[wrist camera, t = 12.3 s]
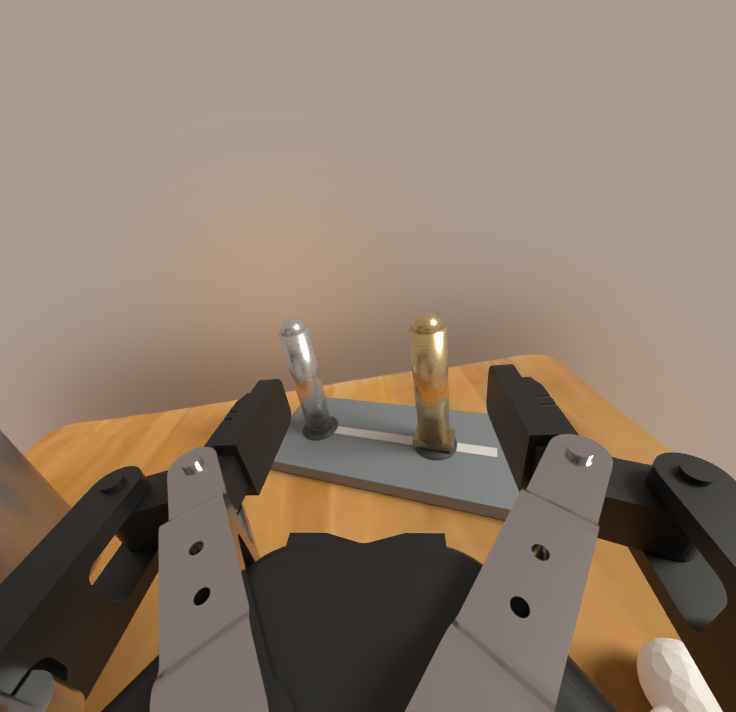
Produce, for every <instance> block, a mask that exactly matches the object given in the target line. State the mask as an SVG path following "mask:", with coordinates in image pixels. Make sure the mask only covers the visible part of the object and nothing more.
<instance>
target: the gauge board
mask: <svg viewBox="0 0 736 712" xmlns="http://www.w3.org/2000/svg"><path fill="white" fill-rule="evenodd" d="M326 401H327V404H328V408H329V412H330V416H331V420H332V424H333V426H332V428H331V430H330V431H329V432H327V433H325V434H323V435H318V436H316V435H312V434H310V433H309V431H308V427H307V424H306V421H305V418H304V414H303V411H302V408H301V407H300V408H299V410H298V411H297V412H296V413H295V414H294V416H293V417H292V418H291V422H290V426H289V428H288V430H287V432H286V435H285V437H284V439H283V442H282V444H281V446H280V448H279V451H278V453H277V455H276V458H275V460H274V462H273V464H272V467H271V469H272V470H277V471H281V472H286V473H291V474H295V475H300V476H304V477H309V478H313V479H318V480H323V481H327V482H332V483H336V484H341V485H345V486H350V487H355V488H359V489H364V490H368V491H373V492H378V493H382V494H387V495H391V496H396V497H400V498H405V499H410V500H414V501H419V502H423V503H428V504H432V505H437V506H442V507H446V508H451V509H455V510H460V511H464V512H469V513H474V514H478V515H483V516H487V517H492V518H496V519H501V520H506V518H507V516H508V514H509V512H510V510H511V508H512V506H513V504H514V502H515V500H516V498H517V496H518V495H519V490H518V488H517V485H516V483H515V480H514V478H513V475H512V473H511V470H510V468H509V465H508V463H507V460H506V458H505V456H504V453H503V451H502V448H501V446H500V443H499V441H498V438H497V436H496V433H495V431H494V428H493V426H492V423H491V421H490V418H489V415H488V414H485V413H475V412H465V411H455V410H449V419H450V428H451V429H455V442H454V448H453V453H450V452H444V451H437V450H431V449H424V448H417V447H413V437H414V434H415V431H416V428H417V413H416V406H406V405H396V404H386V403H376V402H366V401H356V400H347V399H337V398H327V397H326Z"/></svg>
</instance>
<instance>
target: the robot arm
mask: <svg viewBox="0 0 736 712" xmlns="http://www.w3.org/2000/svg"><path fill="white" fill-rule="evenodd" d="M487 411H488V415H489V418H490V421H491V423H492V426H493V428H494V431H495V433H496V436H497V438H498V441H499V443H500V446H501V448H502V451H503V453H504V456H505V458H506V460H507V463H508V465H509V468H510V470H511V473H512V475H513V478H514V480H515V483H516V485H517V488H518V490H519V495H518V496H517V498H516V500H515V502H514V504H513V506H512V508H511V510H510V512H509V514H508V516H507V518H506V520H505V522H504V524H503V526H502V528H501V530H500V532H499V534H498V536H497V538H496V540H495V542H494V544H493V546H492V548H491V550H490V552H489V554H488V556H487V558H486V560H485V562H484V564H483V565H482V564H481V563H480V562H478V561H477V560H475V559H474V558H472V557H470V556H468V555H467V554H465V553H463V552H460V551H458V550H455V549H452V548H449V547H446V540H445V533H404V534H400V535H396V536H393V537H389V538H385V539H381V540H377V541H374V542H370V543H358V542H355V541H352V540H348V539H345V538H341V537H338V536H335V535H331V534H328V533H290V535H289V538H288V541H287V545H286V546H285V547H282V548H279V549H277V550H274V551H272V552H270V553H268V554H267V555H265V556H263V557H262V558H260V556H259V553H258V551H257V547H256V544H255V541H254V538H253V534H252V531H251V528H250V524H249V521H248V518H247V515H246V511H245V508H244V506H243V504H242V502H243V500H244V498H245V496H246V495H259V494H260V492H261V489H262V487H263V485H264V483H265V480H266V478H267V476H268V473H269V471H270V469H271V467H272V464H273V462H274V460H275V458H276V455H277V453H278V451H279V448H280V446H281V444H282V442H283V439H284V437H285V435H286V432H287V430H288V428H289V426H290V422H291V410H290V406H289V403H288V400H287V397H286V394H285V391H284V388H283V384H282V382H281V381H280V380H279V379H271V380H260V381H258V383H257V384H256V385H255V387H254V388H253V390H252V391H251V393H247V394H246V395H245V396H243V397H242V398H241V399H239V400H238V401H237V402H236V403H235V405H234V406H233V407H232V409H231V410H230V413H228V414H227V416H226V417H225V418H224V421H222V422H221V424H220V425H219V426H218V428H217V429H216V431H215V432H214V433H213V435H212V436H211V437H210V439H209V440H208V442H207V443H206V444H205V446H204V447H200V448H196V449H193V450H191V451H189V452H187V453H185V454H183V455H182V456H181V457H179V458H178V459H177V460H176V461H175V462H174V463H173V464H172V465H171V466H170V468H169V470H168V471H164V472H161V473H157V474H153V475H150V476H146V477H145V475H144V474H143V473H142V471H141V470H140V469H139V468H138V467H135V466H129V467H124V468H121V469H118V470H116V471H113V472H112V473H110V474H108V475H106V476H105V477H103V478H102V479H100V480H99V481H98V482H97V483H96V484H94V485H93V486H92V487H91V489H90V490H89V491H88V492H87V493H86V494H85V495H84V496H83V497H82V498H81V499H80V500H79V501H78V502H77V503H76V504H75V505H74V507H73V508H71V507H70V506H69V505H68V503H67V502H66V501H65V500H64V499H63V498H62V497H61V496H60V495H59V494H58V493H57V491H56V490H55V489H54V488H53V487H52V486H51V485H50V484H49V483H48V482H47V481H46V479H45V478H44V477H43V476H42V475H41V474H40V473H39V472H38V471H37V470H36V469H35V467H34V466H33V465H32V464H31V463H30V462H29V461H28V460H27V459H26V458H25V457H24V455H23V454H22V453H21V452H20V451H19V450H18V449H17V448H16V447H15V446H14V445H13V444H12V443H11V441H10V440H9V439H8V438H7V437H6V436H5V435H4V434H3V433H2V432H1V430H0V712H84V711H85V701H86V699H87V697H88V695H89V694H90V692H91V690H92V688H93V686H94V685H95V683H96V681H97V679H98V678H99V676H100V674H101V672H102V670H103V669H104V667H105V665H106V663H107V662H108V660H109V658H110V656H111V654H112V653H113V651H114V649H115V647H116V646H117V644H118V642H119V640H120V638H121V637H122V635H123V633H124V631H125V630H126V628H127V626H128V624H129V622H130V621H131V619H132V617H133V615H134V614H135V612H136V610H137V608H138V607H139V605H140V603H141V601H142V599H143V598H144V596H145V594H146V592H147V591H148V589H149V587H150V585H151V583H152V582H153V580H154V578H155V576H156V575H157V573H158V571H159V655H158V656H157V657H156V658H155V659H154V660H153V661H152V662H151V663H150V664H149V665H148V666H147V667H146V668H145V669H144V670H143V671H142V672H141V673H140V674H139V675H138V676H137V677H136V678H135V679H134V680H133V681H132V682H131V683H130V684H129V685H128V686H127V687H126V688H125V689H124V690H123V691H121V692H120V693H119V694H118V695H117V696H116V697H115V698H114V699H113V700H112V701H111V702H110V703H109V704H108V705H107V706H106V707H105V708H104V709H103V710H102V711H101V712H620V711H619V710H618V709H617V708H616V706H615V705H614V704H613V703H612V702H611V701H610V700H609V699H608V698H607V697H606V696H605V694H604V693H603V692H602V691H601V690H600V689H599V688H598V687H597V686H596V685H595V684H594V682H593V681H592V680H591V679H590V678H589V677H588V676H587V675H586V674H585V673H584V672H583V670H582V669H581V668H580V667H579V666H578V665H577V664H576V663H575V662H574V661H573V660H572V658H571V657H570V656H569V655H568V653H569V649H570V645H571V641H572V637H573V633H574V629H575V625H576V621H577V617H578V613H579V609H580V605H581V601H582V597H583V593H584V589H585V585H586V581H587V576H588V572H589V568H590V564H591V560H592V556H593V552H594V548H595V544H596V540H597V538H600V539H603V540H607V541H610V542H614V543H617V544H621V545H624V546H628V548H629V550H630V552H631V553H632V555H633V557H634V559H635V560H636V562H637V564H638V565H639V567H640V569H641V571H642V572H643V574H644V576H645V578H646V579H647V581H648V583H649V585H650V586H651V588H652V590H653V591H654V593H655V595H656V597H657V598H658V600H659V602H660V604H661V605H662V607H663V609H664V611H665V612H666V614H667V616H668V617H669V619H670V621H671V623H672V624H673V626H674V628H675V630H676V631H677V633H678V635H679V637H680V638H681V640H682V642H683V644H684V645H685V647H686V649H687V650H688V652H689V654H690V656H691V657H692V659H693V661H694V663H695V664H696V666H697V668H698V670H699V671H700V673H701V675H702V676H703V678H704V680H705V682H706V683H707V685H708V687H709V689H710V690H711V692H712V694H713V696H714V697H715V699H716V701H717V702H718V704H719V706H720V708H721V709H722V711H723V712H736V481H735V480H734V479H733V478H732V477H731V476H730V475H729V474H727V473H726V472H725V471H723V470H722V469H720V468H719V467H717V466H715V465H714V464H711V463H710V462H708V461H705V460H703V459H700V458H698V457H694V456H691V455H687V454H682V453H664V454H661V455H659V456H657V457H656V459H655V460H654V462H653V465H647V464H642V463H637V462H632V461H627V460H622V459H617V458H614V457H611V455H610V454H609V452H608V451H607V450H606V449H605V448H604V447H603V446H601V445H600V444H598V443H597V442H595V441H593V440H591V439H589V438H586V437H583V436H580V435H578V433H577V432H576V430H575V429H574V428H573V426H572V425H571V424H570V422H569V421H568V420H567V418H566V417H565V415H564V414H563V413H562V411H561V410H560V409H559V407H558V406H556V403H555V402H554V400H553V399H552V398H551V397H550V395H549V394H548V392H547V391H546V389H545V388H544V387H543V385H541V384H540V383H538V382H537V381H535V380H534V379H532V378H531V377H521V375H520V374H519V372H518V371H517V369H516V368H515V366H514V365H513V364H508V365H493V366H490V368H489V374H488V387H487ZM114 535H116V536H117V537H118V539H119V540H120V541H121V542H122V544H121V546H120V547H119V549H118V550H117V552H116V553H115V554H114V556H113V557H112V559H111V560H110V561H109V563H108V564H107V566H106V567H105V568H104V570H103V571H102V573H101V574H100V576H99V577H98V578H97V580H96V581H95V583H94V584H93V585H91V584H90V581H89V574H90V572H91V570H92V568H93V567H94V565H95V563H96V561H97V558H98V557H99V555H100V554H101V553H102V551H103V550H104V549H105V547H106V546H107V545H108V543H109V542H110V541H111V539H112V538H113V537H114Z"/></svg>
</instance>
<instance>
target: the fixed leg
mask: <svg viewBox="0 0 736 712" xmlns="http://www.w3.org/2000/svg"><path fill="white" fill-rule="evenodd" d="M279 337H280V340H281V343H282V347H283V350H284V353H285V356H286V360H287V363H288V366H289V369H290V372H291V376H292V379H293V382H294V385H295V389H296V392H297V395H298V398H299V402H300V405H301V408H302V411H303V414H304V418H305V421H306V424H307V427H308V431H309V433H310V434H312V435H316V436H318V435H323V434H325V433H327V432H329V431H330V430H331V428H332V426H333V424H332V420H331V416H330V412H329V408H328V404H327V401H326V397H325V393H324V389H323V385H322V382H321V378H320V374H319V370H318V366H317V362H316V358H315V354H314V351H313V347H312V343H311V339H310V335H309V331H308V328H307V327H306V326H304V324H303V323H302V322H301V321H300V320H297V319H289V320H287V321H285V322H284V323H283V324H282V326H281V329H280V333H279Z"/></svg>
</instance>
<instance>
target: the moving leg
mask: <svg viewBox="0 0 736 712" xmlns="http://www.w3.org/2000/svg"><path fill="white" fill-rule="evenodd" d="M409 338H410V350H411V360H412V371H413V382H414V392H415V403H416V413H417V428H416V431H415V434H414V437H413V447H417V448H424V449H431V450H437V451H444V452H450V453H453V448H454V442H455V429H451V428H450V419H449V387H448V358H447V357H448V356H447V327H446V325H445V324H443V323H442V322H441V320H440V319H439V318H438V317H437V316H436V315H434V314H431V313H424V314H421V315H419V316H418V317H417V318H416V319H415V320H414V322H413V325H412V326H411V327H410V328H409Z"/></svg>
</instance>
